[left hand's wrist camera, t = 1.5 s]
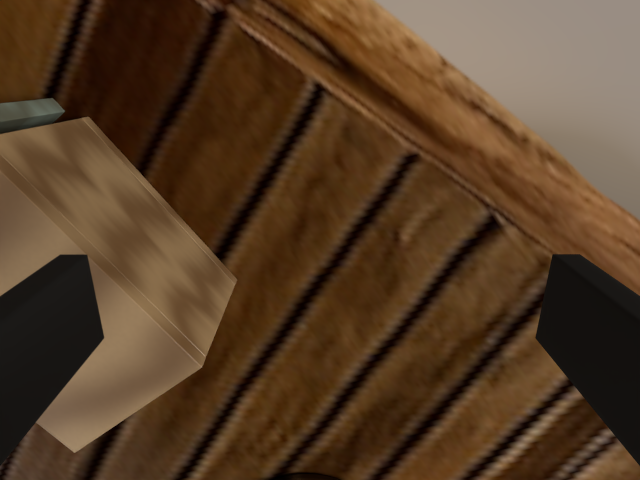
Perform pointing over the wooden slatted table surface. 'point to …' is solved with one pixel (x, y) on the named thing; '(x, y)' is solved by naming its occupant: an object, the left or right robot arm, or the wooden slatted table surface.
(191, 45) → the wooden slatted table surface
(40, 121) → the drawer
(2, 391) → the left robot arm
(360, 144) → the wooden slatted table surface
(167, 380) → the cabinet
